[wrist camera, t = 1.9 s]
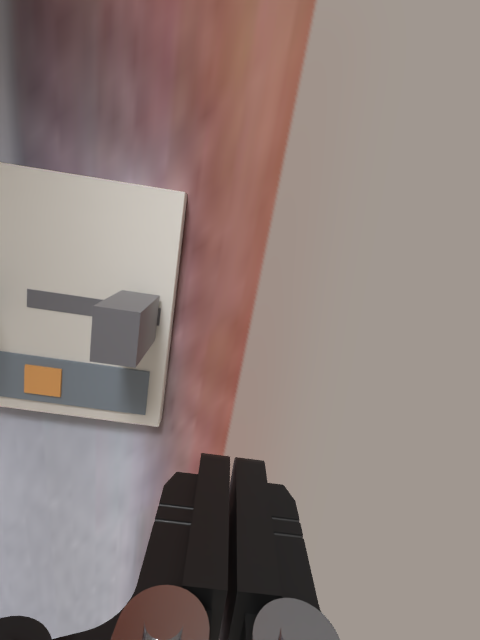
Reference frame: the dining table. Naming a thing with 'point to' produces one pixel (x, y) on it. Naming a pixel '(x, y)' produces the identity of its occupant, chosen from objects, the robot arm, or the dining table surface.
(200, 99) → the dining table surface
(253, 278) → the dining table surface
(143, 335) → the slider
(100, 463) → the dining table surface
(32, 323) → the switch panel
